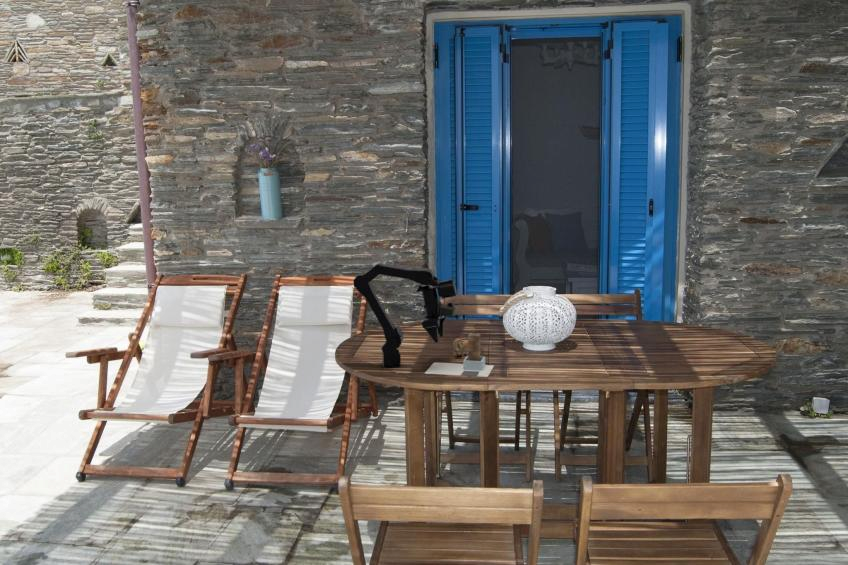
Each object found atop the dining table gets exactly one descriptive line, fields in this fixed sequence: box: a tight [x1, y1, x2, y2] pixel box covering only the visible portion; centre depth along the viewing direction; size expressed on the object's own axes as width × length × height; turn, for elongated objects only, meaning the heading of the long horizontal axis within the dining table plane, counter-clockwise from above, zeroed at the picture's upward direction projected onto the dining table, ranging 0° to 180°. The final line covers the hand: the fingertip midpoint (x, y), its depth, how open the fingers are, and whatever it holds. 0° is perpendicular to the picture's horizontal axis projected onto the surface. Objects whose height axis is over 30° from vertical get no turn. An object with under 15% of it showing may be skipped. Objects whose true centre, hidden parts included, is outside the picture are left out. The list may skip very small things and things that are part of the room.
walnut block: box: [467, 332, 481, 361], centre depth 301 cm, size 4×4×13 cm
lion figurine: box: [452, 338, 468, 358], centre depth 321 cm, size 15×5×9 cm, turn 151°
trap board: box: [424, 361, 495, 378], centre depth 300 cm, size 24×16×1 cm, turn 76°
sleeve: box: [462, 355, 486, 371], centre depth 302 cm, size 7×7×4 cm
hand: (439, 339), depth 306 cm, fingers open, 9 cm apart
